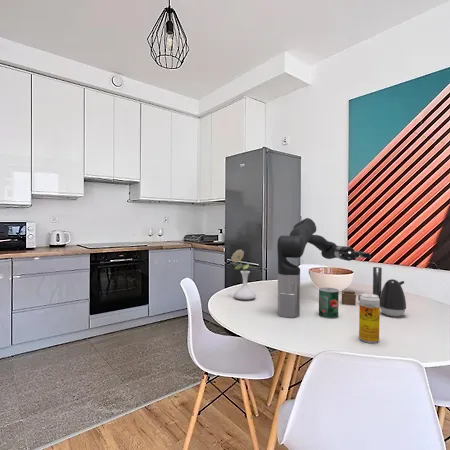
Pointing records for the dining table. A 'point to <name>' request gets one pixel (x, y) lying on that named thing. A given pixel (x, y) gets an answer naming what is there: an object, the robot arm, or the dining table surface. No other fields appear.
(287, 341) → the dining table surface
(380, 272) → the copper and grey mallet
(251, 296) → the flower in vase
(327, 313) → the canned tomato
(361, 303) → the beer can
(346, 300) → the socket
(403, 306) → the pump dispenser
